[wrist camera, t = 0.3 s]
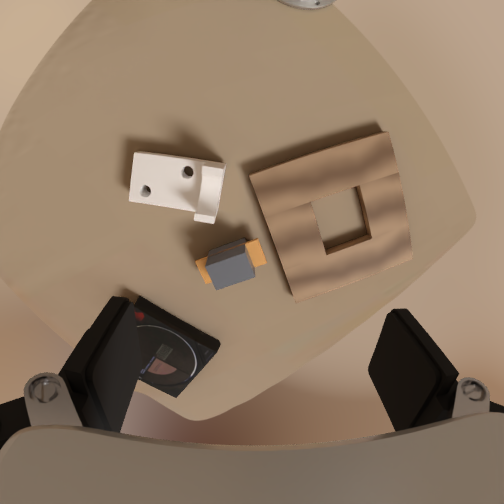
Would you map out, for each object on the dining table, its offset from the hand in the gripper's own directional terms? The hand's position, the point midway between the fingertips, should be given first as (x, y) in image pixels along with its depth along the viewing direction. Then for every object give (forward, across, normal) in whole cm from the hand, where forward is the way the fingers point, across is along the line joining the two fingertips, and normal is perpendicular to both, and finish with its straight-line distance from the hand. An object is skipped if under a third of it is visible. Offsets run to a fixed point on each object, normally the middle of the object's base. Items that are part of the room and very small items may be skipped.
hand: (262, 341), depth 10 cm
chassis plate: (+36, -15, +4) cm, 39 cm away
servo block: (+36, +1, +11) cm, 38 cm away
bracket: (+36, +10, 0) cm, 38 cm away
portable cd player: (+37, +14, +31) cm, 51 cm away
